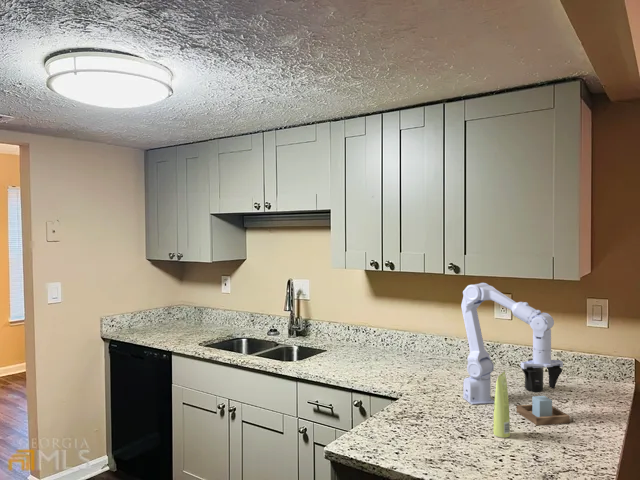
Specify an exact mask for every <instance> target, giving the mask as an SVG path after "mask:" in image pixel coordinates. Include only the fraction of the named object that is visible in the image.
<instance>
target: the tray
mask: <svg viewBox="0 0 640 480" xmlns="http://www.w3.org/2000/svg"><path fill="white" fill-rule="evenodd" d="M516 412H517V414H519V415H520V416H522V417H524V418H525V419H526V420H527V421H529V422H531V423H532V424H533V425H535V426H544V425H545V426H547V425H558V424H559V425H560V424H562V425H563V424H570V422H571V419H570V418H571V417H570V415H569V414H567V413H565V412H564V411H562V410H560V409H558V408H557V407H555V406H553V405H552V416H546V417H537V416H535V415H534V414H532V404H520V405H519V404H517V405H516Z"/></svg>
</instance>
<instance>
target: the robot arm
mask: <svg viewBox="0 0 640 480" xmlns="http://www.w3.org/2000/svg"><path fill="white" fill-rule="evenodd" d="M462 295H463V297H462V300H461V305H460V306H461V313H462V317H463V322H464V327H465V331H466V332H465V333H466V337H467V342H468V348H469V354H468V356H467V357H466V358H467V359H466V360H467V366H466V371H467V374H468V375H469V376H468V377H465V378H463V386H462V387H463V389H462V391H463V392H462V393H463V395H462V398H463V399H464V400H465V401H467V402H468V404H470V405H482V404H484V405H485V404H486V405H487V404H494V401H495V399H493V398H491V394H492V393H491V391H492V390H491V386H492V385H491V383H492V382H491V380H492V379H491V375H492V374H491V373H492V372H493V371H494V367H495V364H494V362H493V361H492V359H491V357H490V354H489V352H488V351H487V350H486V349H485V343H484V340H483V334H482V329H481V324H480V319H479V314H478V310H477V309H478V308H479V306H481V304H482V303H483V302H485V301H493V302H495V303H497V304H498V305H501V306H503V307H504V308H506V309H508V310H510V311H511V313H512V316H514V317H515V318H517V319H519V320H520V321H522V322H524V323H525V324H527V325H529V326H530V329H532V359H533V360H531V361H528V360H527V361H521V362H520V368H521V370H522V372H523V374H524V377H525V376H526V379H527V382H528V386H529V388H530V389H531V390H534V388H535V376H536V371H534V369H533V368H546V369H547V374H548V386H549V388H550V389H553V390H554V389H555V388H556V384H557V383H558V382H557V381H558V379H559V376H561V374H562V373H563V367H564V361H563V360H560V359H552V328H553V327H554V324H555V319H554V318H553V316H552V315H550V313H548V312H542V311H541V310H540V309H536V308H534V307H533V306H531V305H529V303H528V302H527V301H525V302H524V301H518V302H516V301H515V300H513V299H512V298H510V297H509V296H507V295H505V294H504V293H502V292H501V291H500V290H498V289H496V288H495V287H494V286H493V285H489V284H488V283H486V282H480V283H475V284H468V285H467V286H466V287H465V288H464V290H463V291H462Z"/></svg>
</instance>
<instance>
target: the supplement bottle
mask: <svg viewBox="0 0 640 480" xmlns="http://www.w3.org/2000/svg"><path fill="white" fill-rule="evenodd" d="M531 360H533V358H528V359H527V361H531ZM543 368H544V367H543ZM543 368H533V369H534V371H536V376H535V388H534V390H531V389H530V388H529V386H528V382H527V379H526V376H525V375H524V388H525V390H526V391H529V392H533V393H541V392H543V390H544V369H543Z"/></svg>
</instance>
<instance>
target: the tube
mask: <svg viewBox="0 0 640 480" xmlns="http://www.w3.org/2000/svg"><path fill="white" fill-rule="evenodd" d="M509 402H510V401H509V391H508V381H507V375H506V371H505V370H503V371H502V372H501V373H500V374H498V375H497V379H496V382H495V392H494V403H493V435H494V436H495V437H497V438H502V439H505V438H509V437H511V423H510V422H511V420H510V418H511V417H510V403H509Z"/></svg>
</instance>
